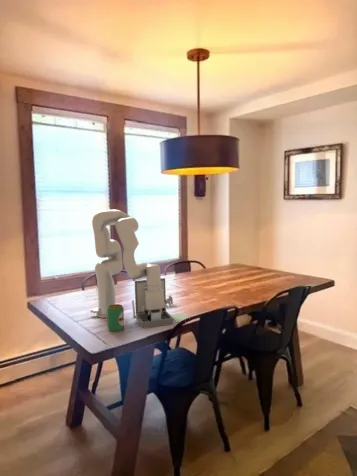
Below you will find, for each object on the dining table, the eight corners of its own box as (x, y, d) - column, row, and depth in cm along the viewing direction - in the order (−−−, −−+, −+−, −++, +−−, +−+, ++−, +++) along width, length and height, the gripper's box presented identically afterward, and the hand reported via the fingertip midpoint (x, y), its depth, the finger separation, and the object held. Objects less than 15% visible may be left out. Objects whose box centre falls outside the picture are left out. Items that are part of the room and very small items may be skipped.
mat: (176, 322, 191) (176, 321, 191) (169, 315, 203) (169, 314, 203) (190, 320, 193) (190, 319, 193) (182, 313, 205) (182, 313, 205)
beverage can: (119, 332, 178) (118, 309, 177) (105, 331, 181) (104, 307, 180) (127, 327, 185) (126, 304, 184) (113, 325, 188) (112, 303, 187)
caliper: (171, 304, 225) (171, 294, 225) (172, 304, 225) (172, 294, 224) (148, 312, 210) (147, 302, 209) (149, 312, 209) (149, 302, 209)
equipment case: (138, 328, 183) (136, 287, 180) (132, 319, 197) (130, 281, 195) (173, 323, 189) (172, 283, 186) (165, 315, 203) (164, 278, 201)
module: (152, 325, 188) (151, 313, 187) (148, 320, 196) (148, 309, 195) (161, 323, 190) (161, 312, 189) (157, 319, 197) (157, 308, 196)
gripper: (139, 291, 184) (140, 325, 186) (171, 287, 190) (172, 321, 192) (136, 287, 191) (137, 321, 193) (167, 284, 197) (167, 317, 199)
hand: (154, 320), depth 192 cm, fingers closed on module, 5 cm apart
